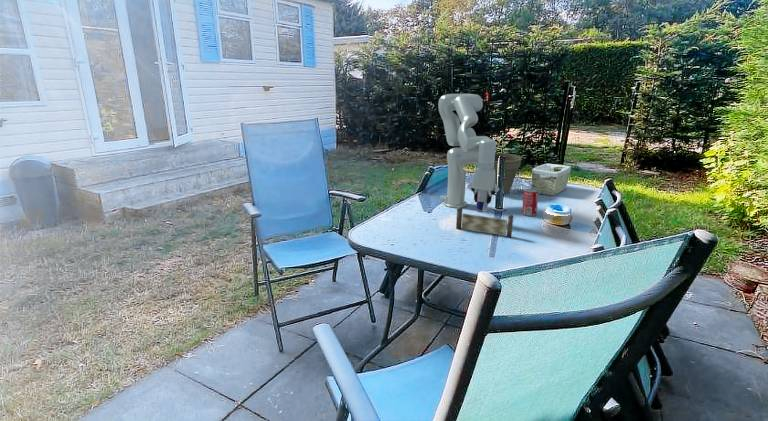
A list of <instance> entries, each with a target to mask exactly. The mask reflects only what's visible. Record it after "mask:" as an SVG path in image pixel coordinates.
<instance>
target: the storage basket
mask: <svg viewBox="0 0 768 421" xmlns="http://www.w3.org/2000/svg"><path fill="white" fill-rule="evenodd" d="M555 170H559V171H555ZM571 170H572V166H570V165H563V164H558V163H557V164H556V163H554V164H553V163H544V164H540V165H538V166H535V167H534V168H532V169H531V180H530V182H531V187H530V188H531V189H537V190H538V195H539V194H540V195H547V196H552V197H553V196H555V195H557V194H559V193H561V192H563V191H564V190H566V189H567V186H568V182H569V177H570V174H571Z"/></svg>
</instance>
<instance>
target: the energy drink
mask: <svg viewBox="0 0 768 421" xmlns="http://www.w3.org/2000/svg"><path fill="white" fill-rule="evenodd" d="M488 196H489V193H488V191H485V190H478V193H477V202H476V205H475V210H476V212H478V213H487V211H488V207H489V204H487V199H488Z"/></svg>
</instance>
